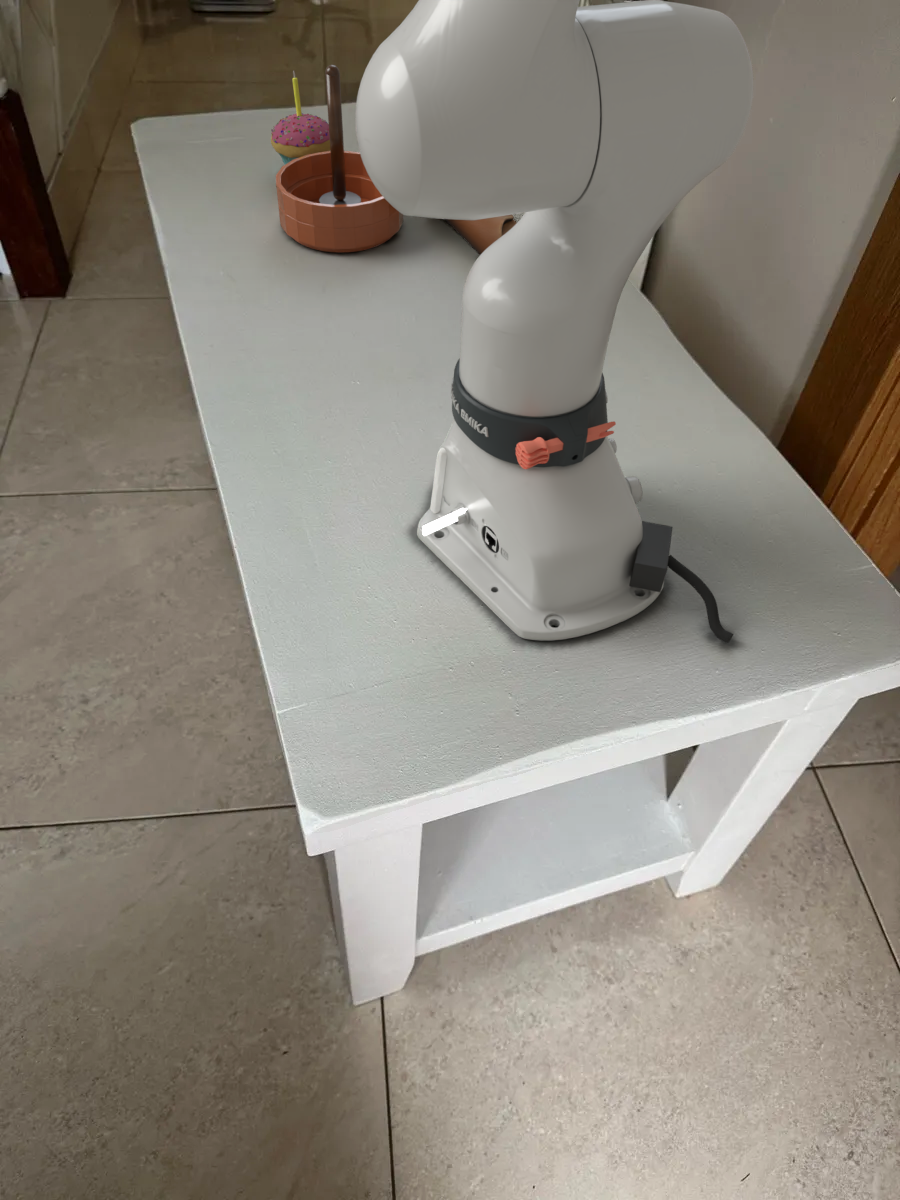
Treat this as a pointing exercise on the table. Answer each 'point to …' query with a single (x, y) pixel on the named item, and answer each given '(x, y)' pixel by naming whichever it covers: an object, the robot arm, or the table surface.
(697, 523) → the table surface
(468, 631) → the table surface
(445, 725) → the table surface
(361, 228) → the bowl
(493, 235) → the sunglasses case
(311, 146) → the cupcake
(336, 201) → the rod on grey base
